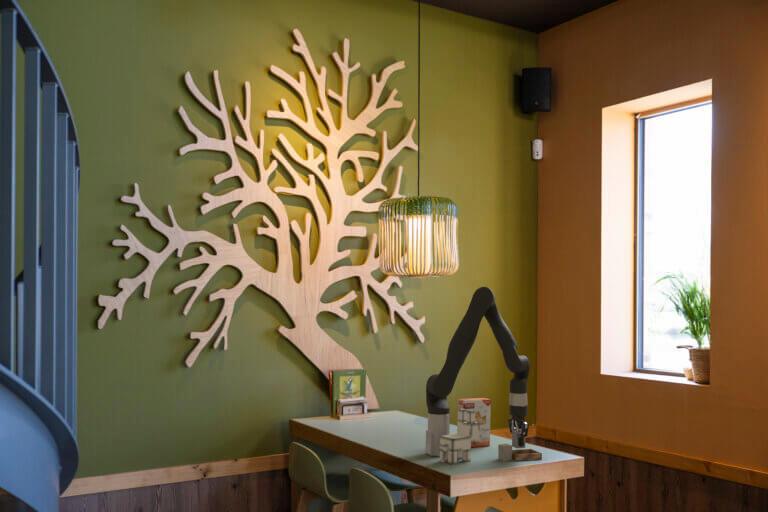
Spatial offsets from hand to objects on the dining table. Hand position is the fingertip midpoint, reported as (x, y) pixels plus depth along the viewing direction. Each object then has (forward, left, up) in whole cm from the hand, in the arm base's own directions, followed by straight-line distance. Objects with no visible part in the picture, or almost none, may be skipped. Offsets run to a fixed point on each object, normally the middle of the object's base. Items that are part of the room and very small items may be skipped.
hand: (518, 445), depth 303 cm
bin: (+2, 0, -5) cm, 6 cm away
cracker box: (-8, +27, -5) cm, 28 cm away
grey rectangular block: (0, 0, -1) cm, 1 cm away
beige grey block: (-7, -1, -5) cm, 9 cm away
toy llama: (-27, +2, -5) cm, 27 cm away
